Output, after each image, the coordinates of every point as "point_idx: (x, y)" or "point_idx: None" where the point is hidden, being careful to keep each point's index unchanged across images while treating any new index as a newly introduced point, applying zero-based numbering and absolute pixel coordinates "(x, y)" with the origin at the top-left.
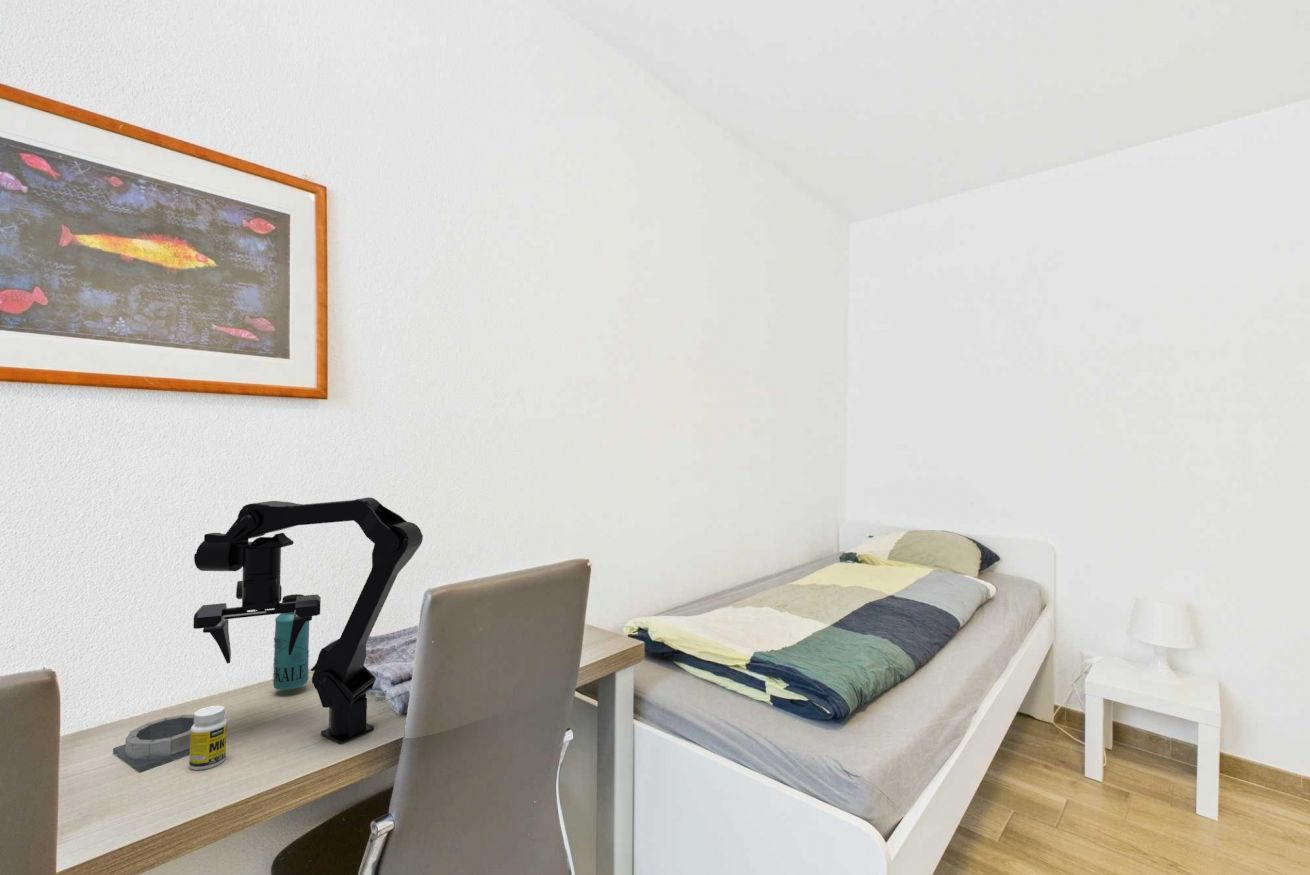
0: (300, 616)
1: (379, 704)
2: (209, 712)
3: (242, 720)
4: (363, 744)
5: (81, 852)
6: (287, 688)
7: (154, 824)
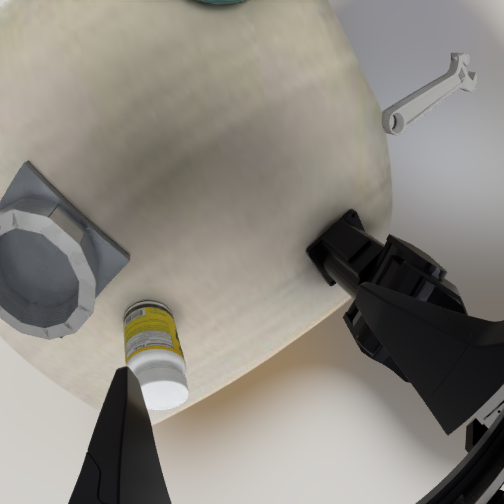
0: (468, 427)
1: (385, 145)
2: (167, 402)
3: (128, 135)
4: None
5: None
6: (217, 3)
7: None
